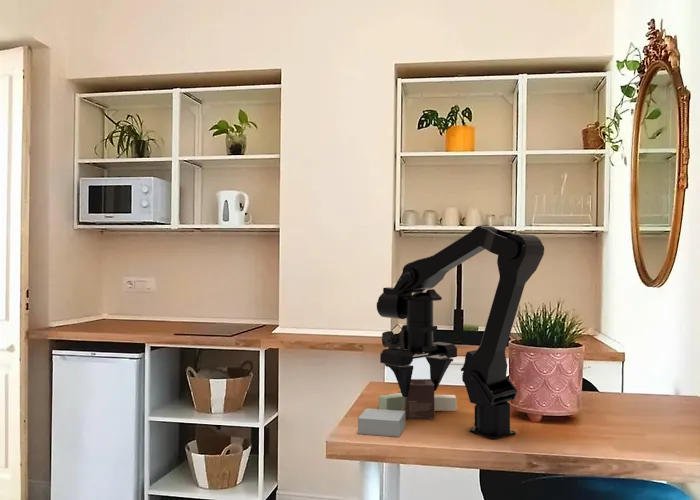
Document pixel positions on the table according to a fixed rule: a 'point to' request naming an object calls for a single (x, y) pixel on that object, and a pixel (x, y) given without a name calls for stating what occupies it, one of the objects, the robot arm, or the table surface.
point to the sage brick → (392, 402)
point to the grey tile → (381, 422)
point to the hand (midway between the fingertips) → (419, 393)
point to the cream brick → (445, 403)
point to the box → (420, 399)
